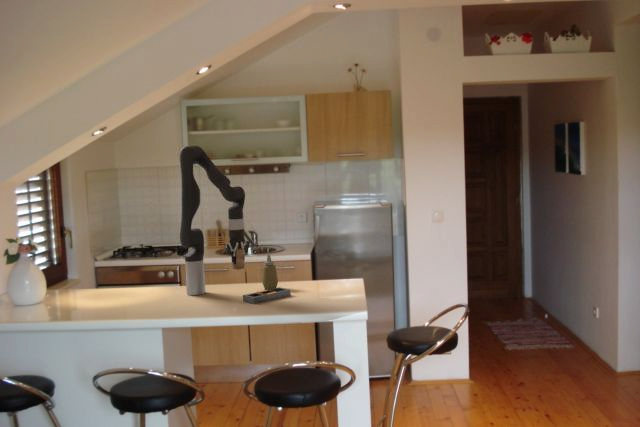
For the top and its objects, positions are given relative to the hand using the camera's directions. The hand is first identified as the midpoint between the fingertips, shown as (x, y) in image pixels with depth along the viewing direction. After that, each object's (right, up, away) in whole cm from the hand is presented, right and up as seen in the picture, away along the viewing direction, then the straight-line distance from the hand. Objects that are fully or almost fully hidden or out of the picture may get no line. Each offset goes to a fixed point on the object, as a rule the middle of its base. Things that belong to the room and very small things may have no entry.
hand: (238, 262), depth 341 cm
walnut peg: (0, -3, 0) cm, 3 cm away
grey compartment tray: (+14, -17, -1) cm, 22 cm away
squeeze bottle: (+14, -15, +20) cm, 29 cm away
